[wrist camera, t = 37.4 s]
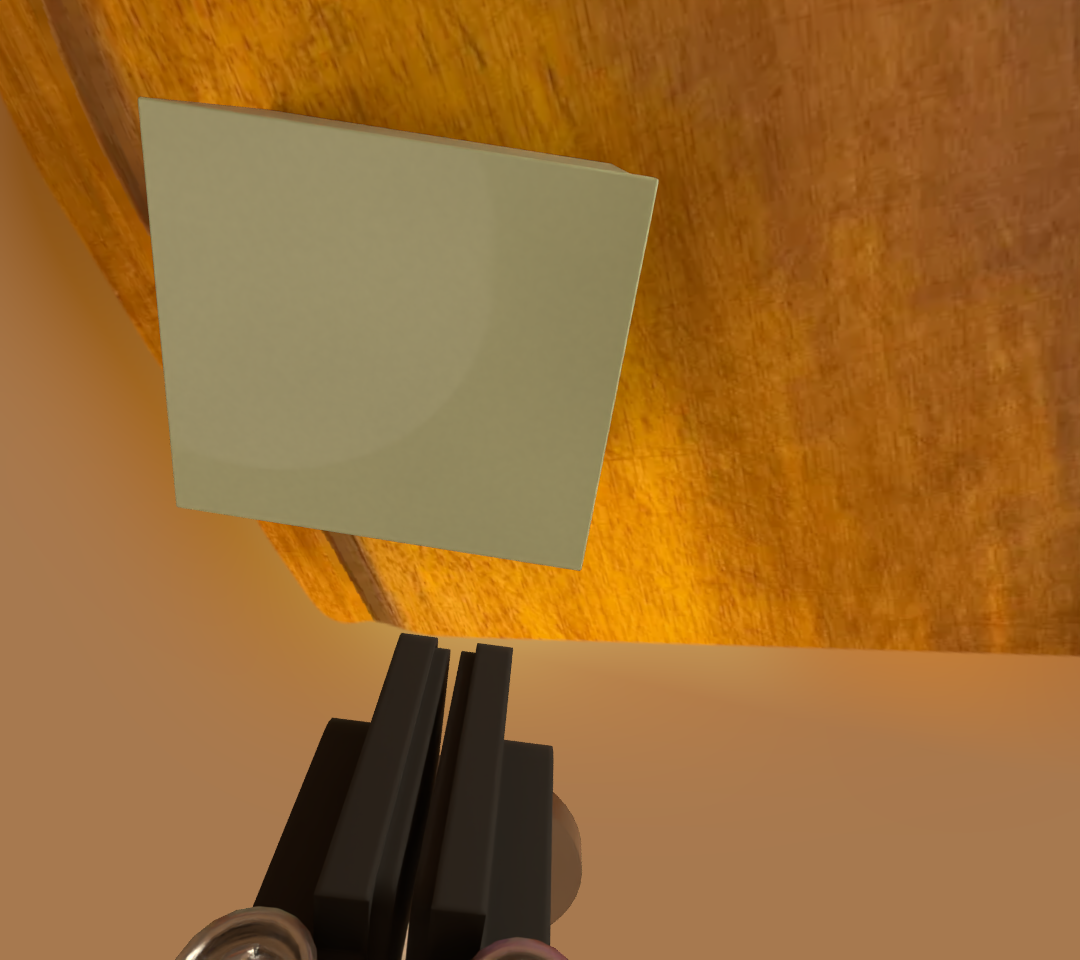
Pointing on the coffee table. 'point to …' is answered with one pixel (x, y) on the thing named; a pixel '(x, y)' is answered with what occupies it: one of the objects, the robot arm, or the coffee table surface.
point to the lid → (389, 329)
